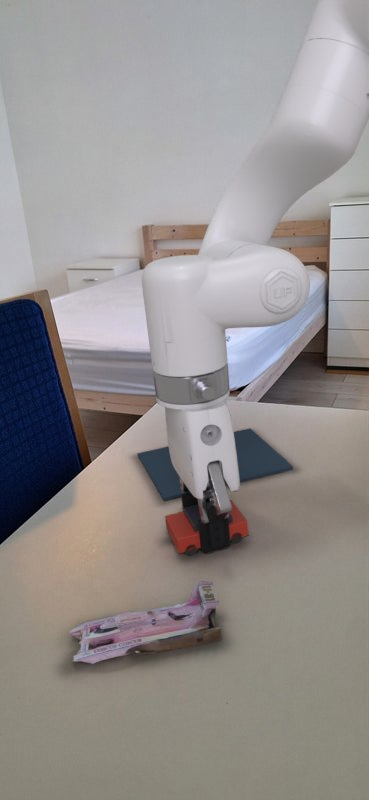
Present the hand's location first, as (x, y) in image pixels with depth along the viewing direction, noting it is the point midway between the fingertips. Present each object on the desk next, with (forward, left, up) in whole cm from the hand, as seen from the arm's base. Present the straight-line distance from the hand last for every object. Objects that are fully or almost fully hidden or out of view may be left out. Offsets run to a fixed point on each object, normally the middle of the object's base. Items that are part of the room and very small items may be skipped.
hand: (206, 533), depth 67 cm
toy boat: (+10, +12, -1) cm, 16 cm away
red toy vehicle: (0, +3, +1) cm, 3 cm away
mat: (-7, -17, -1) cm, 18 cm away
